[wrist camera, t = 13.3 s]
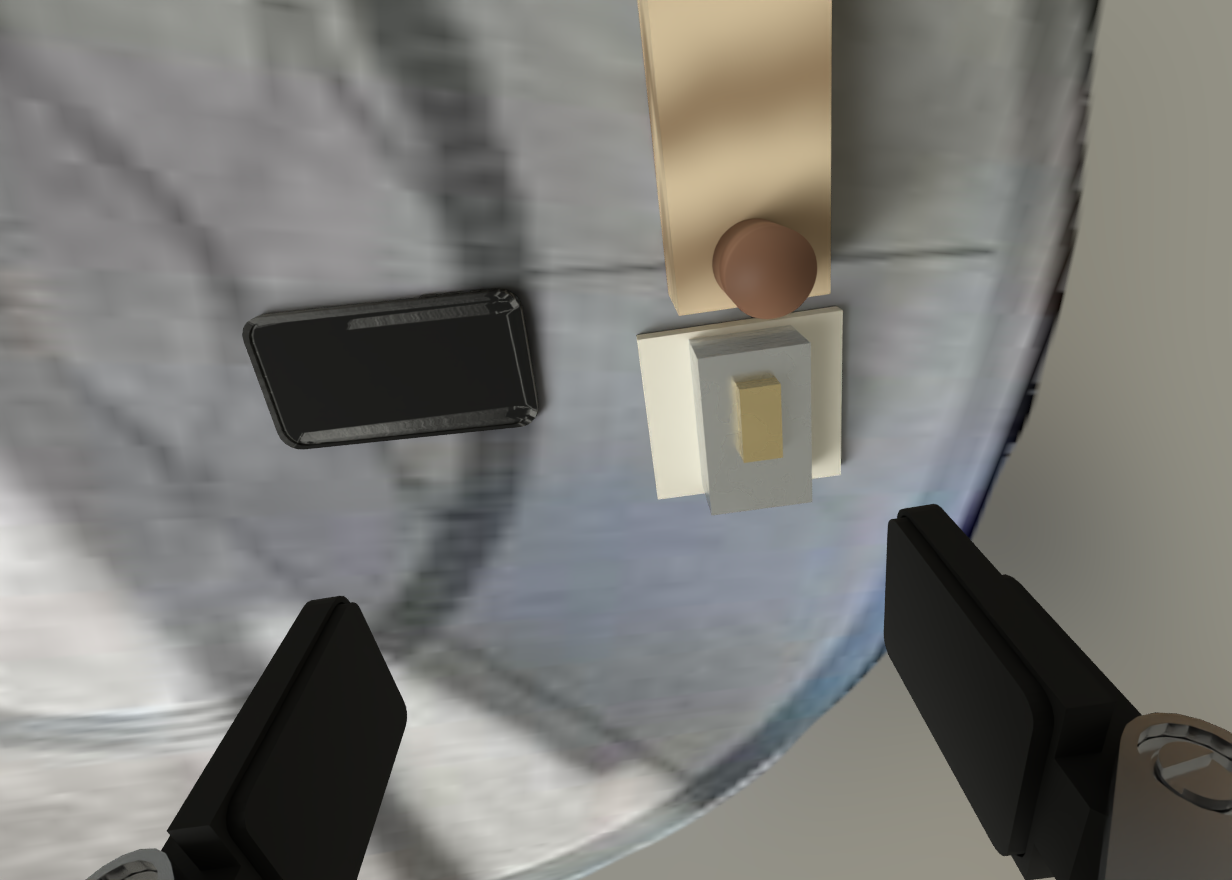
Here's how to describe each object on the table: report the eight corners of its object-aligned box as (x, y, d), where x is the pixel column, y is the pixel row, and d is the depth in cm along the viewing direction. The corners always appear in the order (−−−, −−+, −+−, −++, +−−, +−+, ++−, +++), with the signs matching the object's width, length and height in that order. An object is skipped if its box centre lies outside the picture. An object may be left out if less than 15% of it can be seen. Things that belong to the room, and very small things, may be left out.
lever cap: (688, 339, 33) (700, 365, 29) (790, 324, 33) (817, 348, 29) (702, 484, 37) (714, 525, 33) (793, 472, 37) (818, 511, 33)
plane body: (622, -138, 26) (634, -298, 17) (791, -167, 25) (896, -346, 16) (668, 293, 33) (693, 346, 24) (798, 274, 33) (873, 320, 24)
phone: (540, 424, 36) (283, 451, 36) (541, 417, 37) (292, 443, 37) (516, 287, 32) (234, 318, 32) (519, 283, 33) (245, 313, 34)
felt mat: (636, 335, 34) (637, 340, 33) (836, 306, 34) (842, 310, 33) (656, 491, 38) (658, 499, 37) (834, 467, 38) (840, 474, 37)
